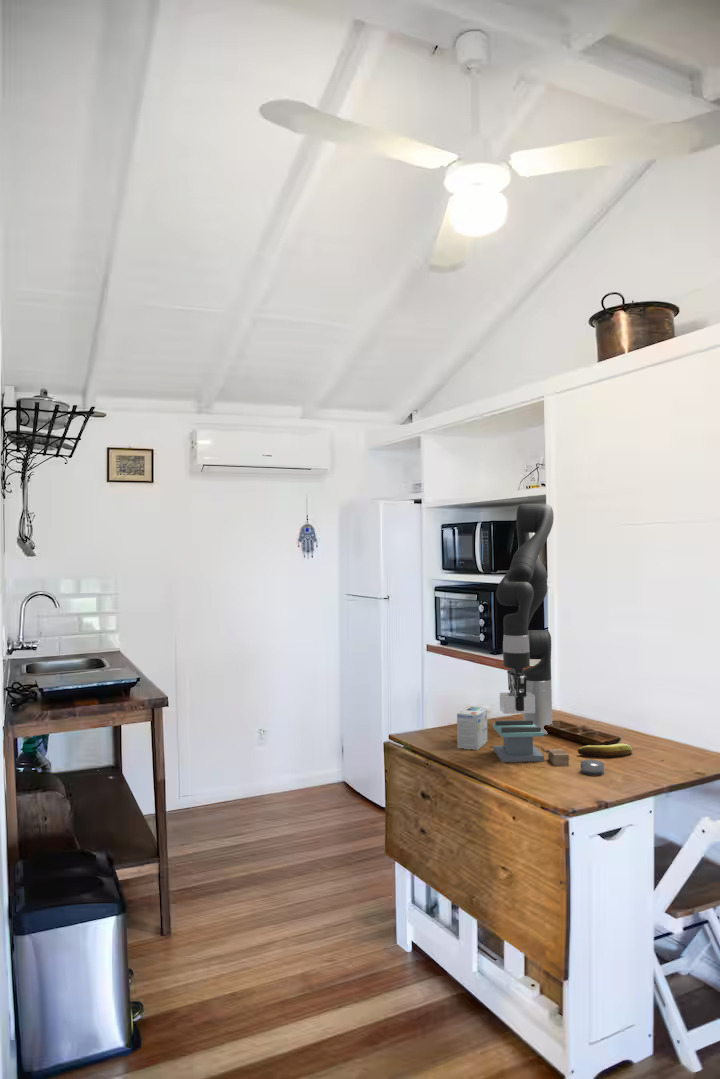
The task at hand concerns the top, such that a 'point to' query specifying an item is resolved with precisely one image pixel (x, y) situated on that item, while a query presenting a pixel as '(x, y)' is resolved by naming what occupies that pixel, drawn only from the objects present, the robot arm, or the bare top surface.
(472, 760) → the top surface
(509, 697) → the block
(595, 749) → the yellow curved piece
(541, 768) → the top surface
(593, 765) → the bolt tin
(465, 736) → the light bulb box
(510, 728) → the stand
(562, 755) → the wood offcut
